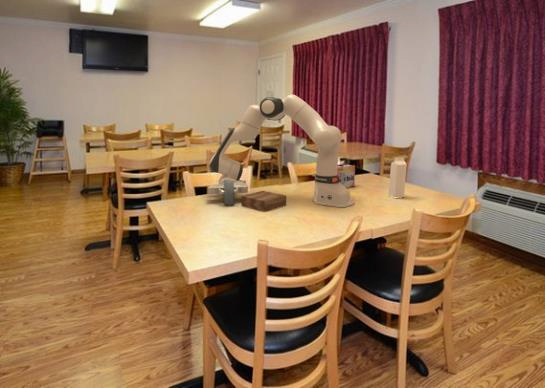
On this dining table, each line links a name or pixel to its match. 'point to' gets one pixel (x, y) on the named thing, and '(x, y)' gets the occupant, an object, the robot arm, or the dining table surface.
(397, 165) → the milk
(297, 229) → the dining table surface
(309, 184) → the dining table surface
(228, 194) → the grey rectangular block
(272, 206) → the walnut base
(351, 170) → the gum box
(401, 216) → the dining table surface
